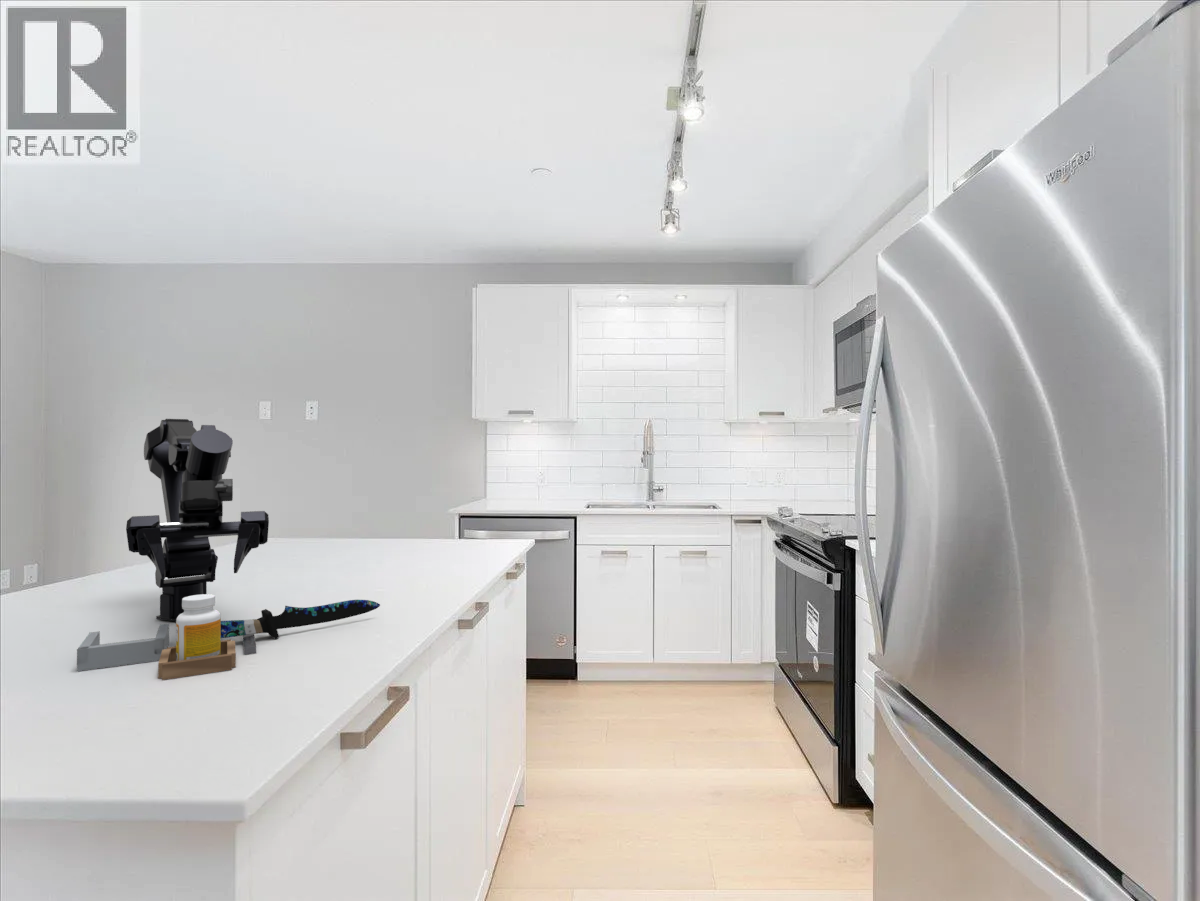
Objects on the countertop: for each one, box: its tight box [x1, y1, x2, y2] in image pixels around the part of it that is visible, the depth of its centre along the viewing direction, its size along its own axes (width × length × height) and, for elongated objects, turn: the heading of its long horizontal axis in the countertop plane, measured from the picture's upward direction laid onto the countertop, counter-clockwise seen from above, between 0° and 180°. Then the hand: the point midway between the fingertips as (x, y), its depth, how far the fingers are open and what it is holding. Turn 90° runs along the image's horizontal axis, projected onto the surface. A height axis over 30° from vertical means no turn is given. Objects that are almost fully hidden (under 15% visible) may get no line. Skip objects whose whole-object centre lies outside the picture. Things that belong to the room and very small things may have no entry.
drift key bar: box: [242, 634, 257, 655], centre depth 101 cm, size 8×2×1 cm, turn 30°
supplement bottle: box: [175, 593, 222, 661], centre depth 92 cm, size 5×5×10 cm
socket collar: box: [157, 639, 237, 681], centre depth 92 cm, size 9×9×2 cm
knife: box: [221, 599, 381, 640], centre depth 108 cm, size 31×3×4 cm, turn 131°
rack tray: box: [76, 623, 170, 672], centre depth 96 cm, size 10×10×3 cm
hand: (200, 574), depth 97 cm, fingers open, 9 cm apart
